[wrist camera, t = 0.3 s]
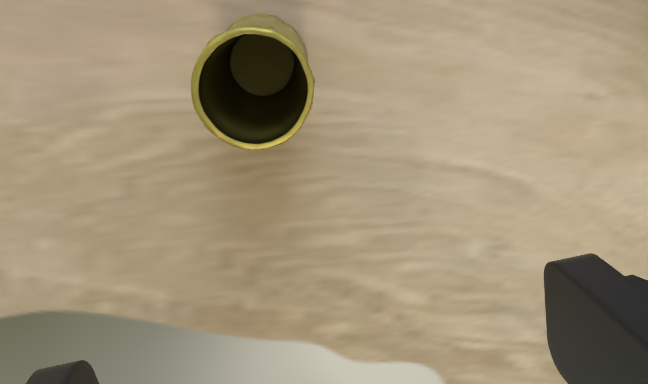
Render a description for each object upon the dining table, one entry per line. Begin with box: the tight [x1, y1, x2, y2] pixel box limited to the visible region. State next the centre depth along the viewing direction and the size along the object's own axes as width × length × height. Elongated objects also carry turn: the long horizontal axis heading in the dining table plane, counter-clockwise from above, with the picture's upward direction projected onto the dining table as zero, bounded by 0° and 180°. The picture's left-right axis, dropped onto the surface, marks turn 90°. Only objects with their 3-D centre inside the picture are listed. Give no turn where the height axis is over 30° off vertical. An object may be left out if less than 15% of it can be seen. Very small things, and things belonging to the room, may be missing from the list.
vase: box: [191, 14, 315, 150], centre depth 29 cm, size 6×6×14 cm
